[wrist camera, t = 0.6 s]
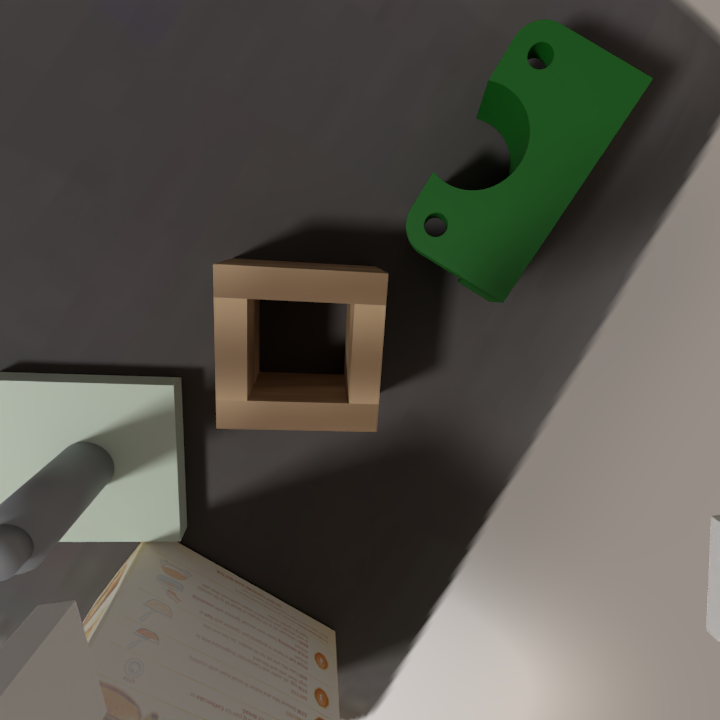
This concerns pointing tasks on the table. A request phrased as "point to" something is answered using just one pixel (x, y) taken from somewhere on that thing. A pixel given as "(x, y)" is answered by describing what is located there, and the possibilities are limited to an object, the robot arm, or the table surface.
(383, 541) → the table surface
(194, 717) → the coffeecake box
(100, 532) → the sage green base plate
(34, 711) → the robot arm
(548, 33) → the clamp
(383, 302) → the collar
